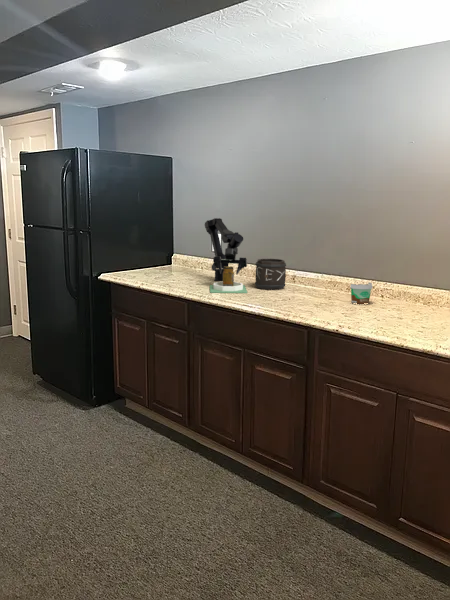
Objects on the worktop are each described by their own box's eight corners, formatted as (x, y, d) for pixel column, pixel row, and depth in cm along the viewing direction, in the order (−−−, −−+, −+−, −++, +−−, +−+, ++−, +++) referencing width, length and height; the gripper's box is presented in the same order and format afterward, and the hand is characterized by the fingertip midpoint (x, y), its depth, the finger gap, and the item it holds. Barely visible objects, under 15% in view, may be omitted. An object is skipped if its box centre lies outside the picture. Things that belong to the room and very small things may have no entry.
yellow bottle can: (228, 286, 293) (229, 265, 291) (238, 288, 287) (239, 267, 285) (219, 288, 289) (219, 266, 286) (229, 290, 282) (229, 268, 280)
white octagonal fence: (213, 285, 295) (213, 281, 295) (241, 286, 296) (241, 281, 295) (213, 290, 280) (213, 286, 279) (243, 291, 280) (243, 286, 280)
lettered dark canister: (249, 289, 290) (250, 261, 287) (259, 284, 306) (260, 257, 303) (280, 291, 283) (281, 263, 280) (289, 286, 300) (290, 259, 296)
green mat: (209, 285, 298) (209, 284, 298) (244, 286, 299) (244, 285, 299) (210, 292, 277) (210, 291, 277) (247, 293, 278) (247, 292, 277)
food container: (357, 306, 250) (358, 285, 248) (348, 303, 255) (350, 283, 253) (376, 304, 255) (378, 284, 253) (368, 301, 261) (369, 282, 259)
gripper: (213, 242, 291) (210, 264, 283) (247, 243, 289) (244, 265, 280) (216, 254, 301) (212, 276, 292) (248, 255, 298) (245, 277, 290)
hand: (228, 273), depth 288 cm, fingers open, 9 cm apart
